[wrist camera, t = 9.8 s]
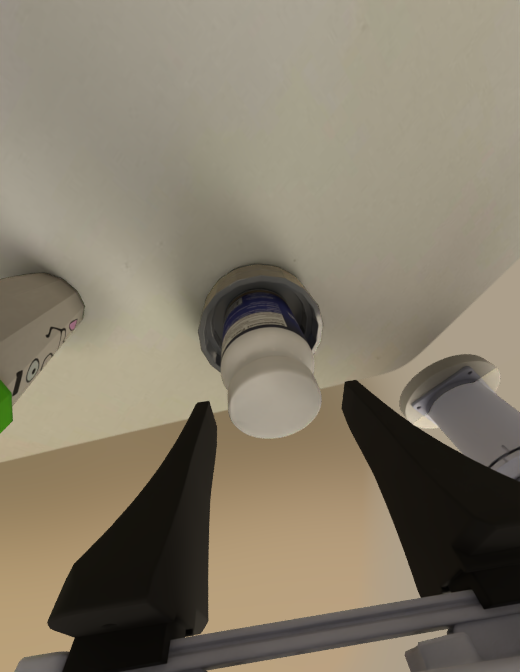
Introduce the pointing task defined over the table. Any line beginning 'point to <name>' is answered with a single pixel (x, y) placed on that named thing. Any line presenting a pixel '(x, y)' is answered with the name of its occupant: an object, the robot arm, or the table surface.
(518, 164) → the table surface
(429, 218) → the table surface
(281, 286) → the bowl
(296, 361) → the pill bottle
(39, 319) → the cup
